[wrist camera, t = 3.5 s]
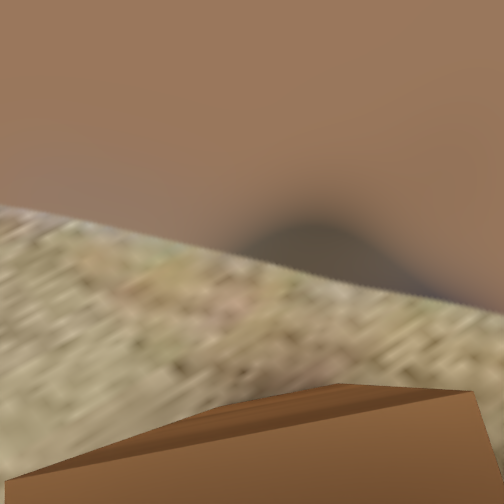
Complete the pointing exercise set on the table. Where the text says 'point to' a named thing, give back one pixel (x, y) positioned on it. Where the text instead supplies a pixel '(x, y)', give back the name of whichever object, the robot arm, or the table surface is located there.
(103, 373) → the table surface
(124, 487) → the walnut block
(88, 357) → the table surface
